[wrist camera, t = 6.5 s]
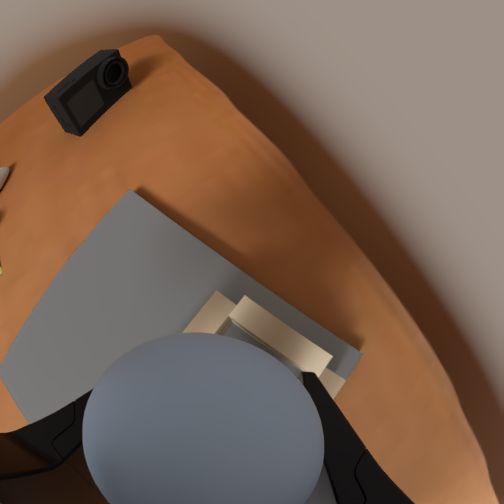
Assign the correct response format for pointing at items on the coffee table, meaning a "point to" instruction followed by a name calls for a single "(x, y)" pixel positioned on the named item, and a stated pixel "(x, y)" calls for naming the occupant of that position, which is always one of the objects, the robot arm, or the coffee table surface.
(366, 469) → the robot arm
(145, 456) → the blue-domed white cylinder
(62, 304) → the jig board
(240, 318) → the cradle
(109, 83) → the digital camera
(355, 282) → the coffee table surface
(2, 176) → the toy airplane
